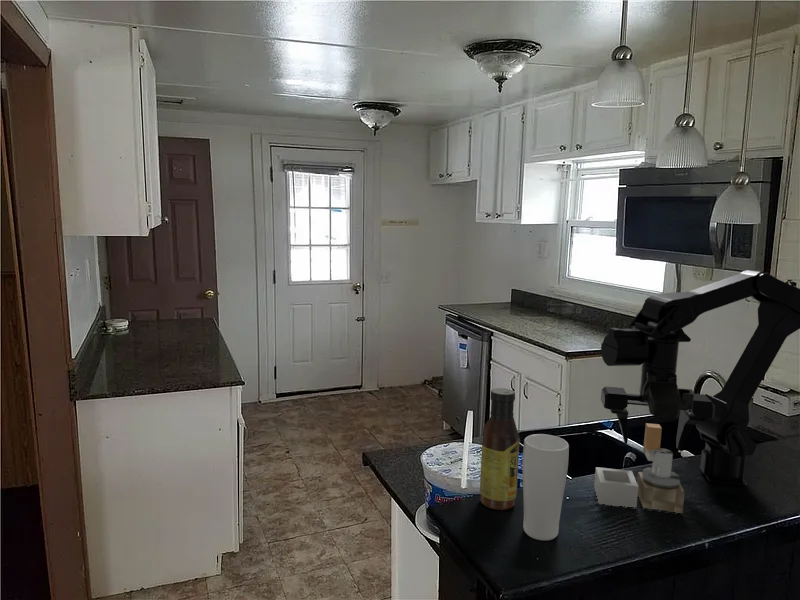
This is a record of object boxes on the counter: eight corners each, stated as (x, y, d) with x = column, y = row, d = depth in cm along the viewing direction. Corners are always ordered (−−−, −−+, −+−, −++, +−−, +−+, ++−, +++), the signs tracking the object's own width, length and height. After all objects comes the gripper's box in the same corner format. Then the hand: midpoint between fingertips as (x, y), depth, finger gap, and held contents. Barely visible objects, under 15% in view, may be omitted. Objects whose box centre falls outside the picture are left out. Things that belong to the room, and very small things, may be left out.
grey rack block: (629, 491, 105) (631, 470, 104) (636, 508, 99) (638, 486, 98) (594, 487, 106) (595, 467, 106) (598, 504, 100) (600, 482, 100)
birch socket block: (673, 496, 104) (675, 475, 103) (682, 514, 98) (684, 491, 97) (636, 492, 105) (638, 471, 104) (643, 509, 99) (645, 487, 98)
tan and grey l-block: (656, 452, 109) (659, 424, 108) (662, 462, 105) (665, 433, 104) (643, 450, 110) (645, 423, 109) (648, 460, 105) (650, 432, 104)
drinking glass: (513, 521, 94) (518, 433, 92) (554, 521, 94) (560, 433, 92) (525, 545, 87) (531, 451, 85) (569, 544, 88) (576, 450, 85)
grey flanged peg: (672, 494, 103) (677, 446, 102) (681, 511, 98) (687, 460, 96) (637, 490, 105) (641, 443, 103) (643, 506, 99) (648, 456, 97)
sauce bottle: (515, 514, 96) (522, 399, 93) (477, 509, 97) (483, 396, 94) (516, 495, 102) (522, 387, 99) (480, 491, 104) (485, 384, 101)
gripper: (612, 372, 100) (605, 457, 102) (730, 381, 96) (720, 470, 99) (603, 356, 111) (597, 434, 113) (709, 364, 107) (700, 444, 109)
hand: (651, 445), depth 108 cm, fingers open, 9 cm apart
